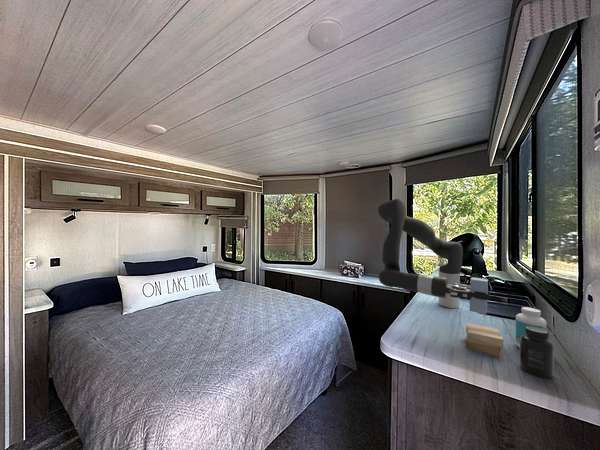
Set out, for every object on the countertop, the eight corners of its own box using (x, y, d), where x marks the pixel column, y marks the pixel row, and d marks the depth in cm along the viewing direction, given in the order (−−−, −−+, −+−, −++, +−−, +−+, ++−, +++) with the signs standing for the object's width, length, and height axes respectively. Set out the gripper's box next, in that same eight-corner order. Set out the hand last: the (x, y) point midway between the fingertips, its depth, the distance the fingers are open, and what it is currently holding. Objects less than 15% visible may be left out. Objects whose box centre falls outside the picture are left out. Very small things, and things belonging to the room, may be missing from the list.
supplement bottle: (560, 377, 64) (561, 334, 64) (540, 380, 63) (541, 335, 63) (531, 363, 71) (532, 323, 71) (513, 364, 70) (514, 324, 70)
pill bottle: (549, 358, 74) (550, 315, 74) (517, 350, 78) (518, 310, 78) (542, 347, 80) (543, 308, 80) (513, 341, 84) (514, 304, 84)
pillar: (470, 307, 84) (471, 277, 84) (486, 310, 81) (487, 279, 81) (469, 311, 81) (470, 279, 81) (486, 314, 78) (487, 281, 78)
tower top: (466, 330, 86) (466, 322, 86) (497, 337, 81) (497, 329, 81) (468, 341, 79) (468, 332, 79) (503, 349, 74) (503, 339, 74)
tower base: (467, 339, 86) (467, 330, 86) (499, 347, 81) (499, 339, 81) (465, 348, 79) (465, 339, 79) (500, 358, 74) (500, 349, 74)
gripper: (428, 279, 85) (488, 288, 74) (436, 273, 96) (490, 280, 84) (427, 299, 85) (487, 312, 74) (436, 291, 96) (489, 301, 85)
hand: (488, 295), depth 79 cm, fingers closed on pillar, 4 cm apart
